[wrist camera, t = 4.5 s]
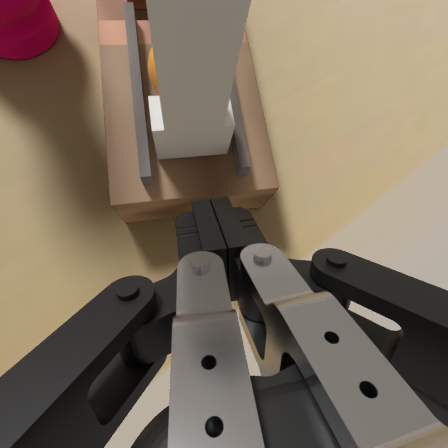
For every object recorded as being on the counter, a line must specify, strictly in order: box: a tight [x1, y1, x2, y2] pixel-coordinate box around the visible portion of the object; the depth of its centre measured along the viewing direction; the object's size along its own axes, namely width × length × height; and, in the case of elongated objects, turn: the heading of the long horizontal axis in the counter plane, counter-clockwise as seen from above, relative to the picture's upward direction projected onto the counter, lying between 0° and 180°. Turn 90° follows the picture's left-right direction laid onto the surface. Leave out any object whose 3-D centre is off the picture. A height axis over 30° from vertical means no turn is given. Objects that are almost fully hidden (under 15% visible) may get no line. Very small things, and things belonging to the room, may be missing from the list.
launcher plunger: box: [146, 0, 251, 160], centre depth 10 cm, size 4×3×14 cm
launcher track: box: [96, 0, 279, 223], centre depth 20 cm, size 10×21×5 cm, turn 9°
